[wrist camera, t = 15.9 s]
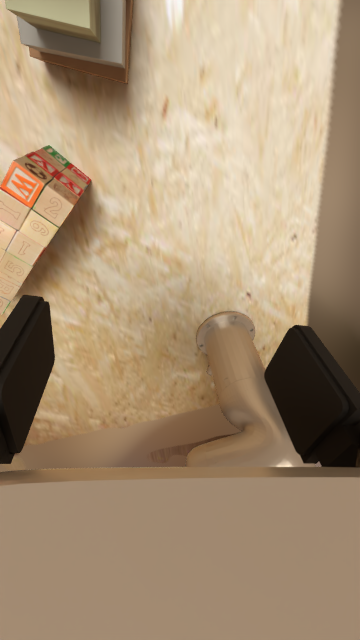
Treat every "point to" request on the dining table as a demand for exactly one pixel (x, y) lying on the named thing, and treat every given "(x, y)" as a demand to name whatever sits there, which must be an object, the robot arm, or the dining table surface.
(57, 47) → the tower top
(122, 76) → the tower base
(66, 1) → the sage block
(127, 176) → the dining table surface
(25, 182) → the stack of blocks
